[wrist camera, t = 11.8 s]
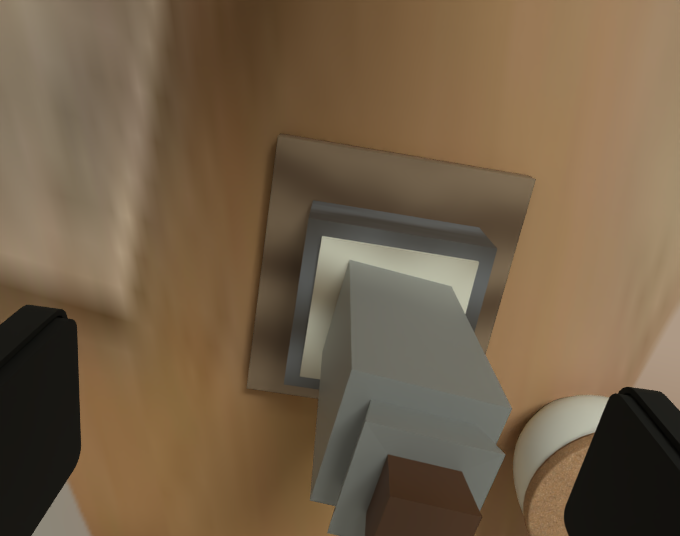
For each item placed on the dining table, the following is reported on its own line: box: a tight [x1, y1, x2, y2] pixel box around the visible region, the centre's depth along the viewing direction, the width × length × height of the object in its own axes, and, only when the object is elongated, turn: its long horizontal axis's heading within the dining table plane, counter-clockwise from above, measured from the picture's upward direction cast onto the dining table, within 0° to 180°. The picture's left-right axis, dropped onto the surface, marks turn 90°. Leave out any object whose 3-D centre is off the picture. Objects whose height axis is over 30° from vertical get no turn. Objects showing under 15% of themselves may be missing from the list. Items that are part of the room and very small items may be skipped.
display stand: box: [247, 133, 536, 399], centre depth 39 cm, size 20×18×7 cm
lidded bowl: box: [513, 395, 609, 536], centre depth 41 cm, size 13×13×11 cm
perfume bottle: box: [310, 260, 512, 536], centre depth 27 cm, size 7×7×18 cm
